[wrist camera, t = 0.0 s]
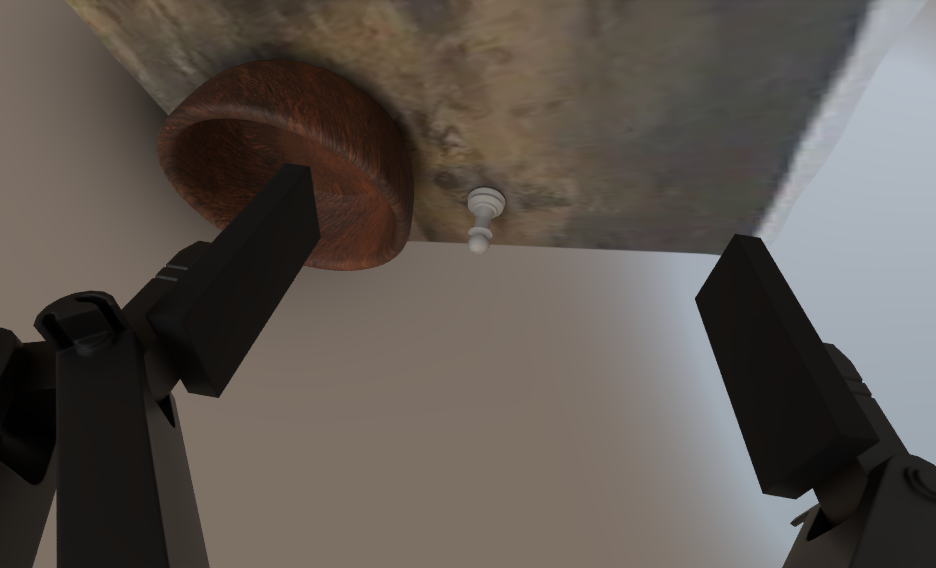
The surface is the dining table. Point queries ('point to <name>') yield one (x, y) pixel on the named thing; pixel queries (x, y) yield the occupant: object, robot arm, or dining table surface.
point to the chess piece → (483, 216)
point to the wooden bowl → (294, 156)
